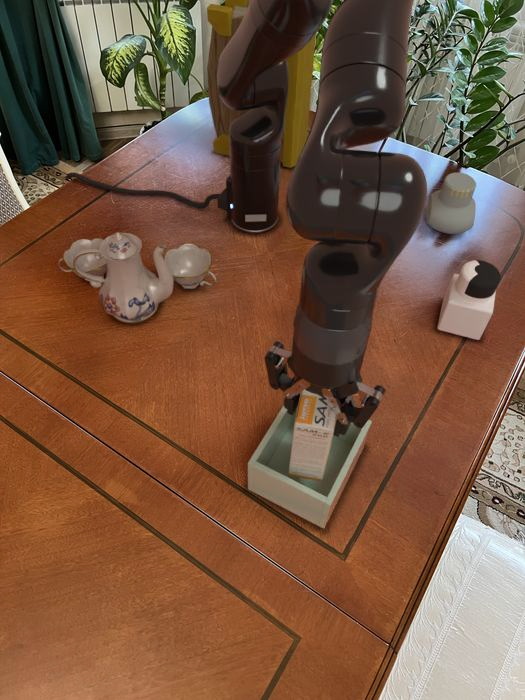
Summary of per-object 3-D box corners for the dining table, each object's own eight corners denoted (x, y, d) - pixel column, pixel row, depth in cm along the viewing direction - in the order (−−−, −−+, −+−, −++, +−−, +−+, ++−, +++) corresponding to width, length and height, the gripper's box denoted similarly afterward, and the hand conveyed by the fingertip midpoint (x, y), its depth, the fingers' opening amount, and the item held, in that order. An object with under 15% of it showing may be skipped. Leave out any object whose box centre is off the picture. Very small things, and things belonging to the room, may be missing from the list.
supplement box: (323, 483, 75) (335, 433, 64) (287, 476, 75) (293, 425, 65) (331, 429, 80) (343, 374, 69) (297, 422, 80) (304, 367, 70)
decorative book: (309, 145, 131) (321, 1, 107) (293, 171, 124) (303, 25, 100) (228, 127, 135) (223, -16, 111) (209, 152, 128) (199, 6, 105)
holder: (247, 489, 79) (247, 463, 73) (292, 415, 86) (295, 386, 80) (323, 529, 76) (330, 505, 69) (363, 448, 83) (372, 421, 77)
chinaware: (218, 268, 108) (215, 189, 96) (215, 329, 96) (211, 248, 84) (68, 268, 107) (46, 188, 95) (47, 330, 95) (18, 248, 83)
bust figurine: (483, 311, 100) (507, 260, 91) (479, 341, 96) (504, 291, 86) (442, 301, 101) (462, 250, 92) (436, 330, 97) (456, 280, 88)
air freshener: (468, 244, 111) (485, 201, 103) (425, 238, 112) (438, 196, 104) (466, 208, 118) (481, 166, 110) (425, 203, 118) (437, 161, 110)
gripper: (411, 335, 57) (381, 421, 71) (284, 284, 61) (278, 374, 75) (384, 389, 53) (357, 470, 67) (250, 330, 57) (250, 418, 71)
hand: (315, 419), depth 71 cm, fingers closed on supplement box, 5 cm apart
